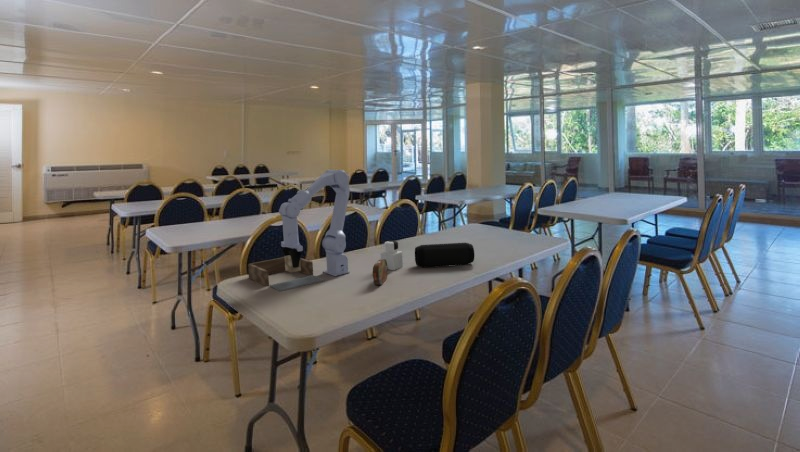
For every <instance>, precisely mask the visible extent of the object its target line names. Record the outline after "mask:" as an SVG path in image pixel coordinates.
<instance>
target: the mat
mask: <svg viewBox="0 0 800 452" xmlns="http://www.w3.org/2000/svg"><path fill="white" fill-rule="evenodd" d="M324 281H325V279H323V278H321V277H318V276H316V275H314V274H313V275H311V276H309V275H307V276H301V277H299V278H294V279H293V278H292V279H290V280H285V281H281V282H275V283H272V284H269V287H270V288H271V289H275V290H277V291H278V292H283V291H287V290H293V289H296V288H300V287H304V286H308V285H313V284H317V283H321V282H324Z"/></svg>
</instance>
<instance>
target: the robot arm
mask: <svg viewBox="0 0 800 452" xmlns="http://www.w3.org/2000/svg"><path fill="white" fill-rule="evenodd" d="M349 180H350V176H349V175H348V174H347V172H346V171H345V170H343V169H328V170H325V171H324V172H323V173H321V174H320V176H319V177H318V178H317V179H316V180H315V181H314V182H313V183H312V184H311V185H310V186H309V187H308V188H307V189H306V190H305V189H301V190H298V191H297V192H296V194H295V195H294V196H292V197H291V198H288V200H287V202H283V203H281V205H280V207H279V209H278V212H279V215H280V216H281V220H282V221H281V223H282V233H283V241H280V246H281V247H282V248H280V252H281V253H282V254H283V257H284V256H287V255H290V256H291V259H292V265H293V268H296V267H299V263H300V258H302V255H303V253H304V247H303V245H301V243H300V241H299V226H298V217H299V215H300V212H301V210H303V209H304V208H305V207H306V206H307V205H308V204H309V203H310V202H312V197H313V196H314V195H316V194H317V193H319V191H321V190H322V189H324V188H325V187H328V186H329V187H330V188H331V189H333V191H334V192H335V198H334V204H333V209H332V213H331V214H332V216H331V220H330V225H329V226H330V227H329V229H328V230H327V231H326V232H325V235H324V237H323V239H322V241H321V242H322V243H321V244H322V248H323V249H324V251H325V257H326V258H325V260H326V269H325V270H323V271H322V272H323V273H324V274H328V275H331V276H334V277H336V276H341V275H345V274H349V273H351V271H350V270H349V261H348V260H349V259H348V256H346V255H345V254H344V251H345V250H346V247H347V243H346V233H344V225H345V219H346V214H347V208H348V204H349V203H348V202H349V197H350V191H351V190H350V184H349Z"/></svg>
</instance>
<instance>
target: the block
mask: <svg viewBox="0 0 800 452" xmlns="http://www.w3.org/2000/svg"><path fill="white" fill-rule="evenodd" d="M283 257H284V258H285V271H284V272H289V273H295V272H299V271H301V264H300V263H299V267H296V268H293V265H292V259H291V256H290V255H287V256H284V255H283Z"/></svg>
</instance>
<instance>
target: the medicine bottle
mask: <svg viewBox="0 0 800 452" xmlns="http://www.w3.org/2000/svg"><path fill="white" fill-rule="evenodd" d="M403 257H404V256H403V251H401V250H399V242H398V241H396V240H387V241H384V251H383V252H381V253H380V260H381V259H386V261H387V267H388V271H389V270H390V271H395V270H398V269H401V268H403V266H404V263H403V261H404V260H403Z"/></svg>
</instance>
